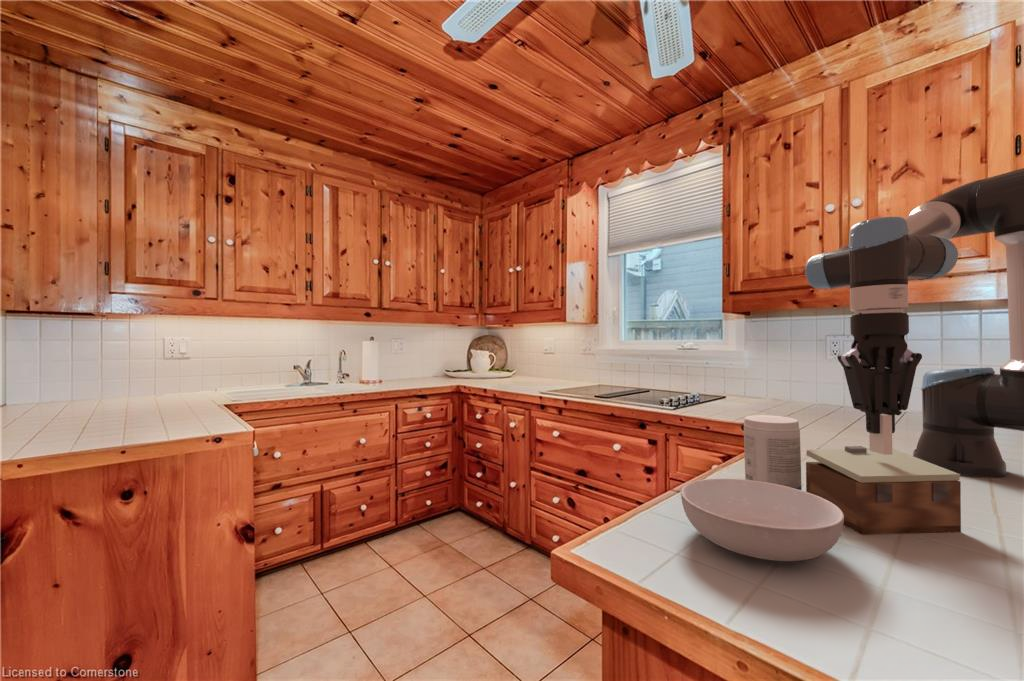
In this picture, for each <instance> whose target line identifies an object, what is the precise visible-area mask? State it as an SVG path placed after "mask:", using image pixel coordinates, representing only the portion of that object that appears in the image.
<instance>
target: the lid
mask: <svg viewBox="0 0 1024 681" xmlns="http://www.w3.org/2000/svg"><path fill="white" fill-rule="evenodd" d="M805 454H806V456H807V457H809V458H811V459H812V460H815V461H816V462H821V463H823V464H825V465H827V466H829V467H831V468H833V469H835V470H837V471H839V472H841V473H843V474H845V475H847V476H849V477H850V478H852V479H854V480H856V481H858V482H860V483H869V482H912V481H955V480H957V481H960V479H961V474H958V473H956V472H953V471H950V470H948V469H945V468H942V467H940V466H937V465H934V464H932V463H929V462H927V461H924V460H921V459H919V458H916V457H913V455H910V454H907V453H905V452H903V451H900V450H897V449H894V448H892V455H883V454H879V453H876V452H873V451H870V448H867V447H864V446H862V445H859V446H858V445H853V446H851V445H847V446H844V448H840V449H839V448H836V449H832V448H831V449H829V448H827V449H806V453H805Z"/></svg>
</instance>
